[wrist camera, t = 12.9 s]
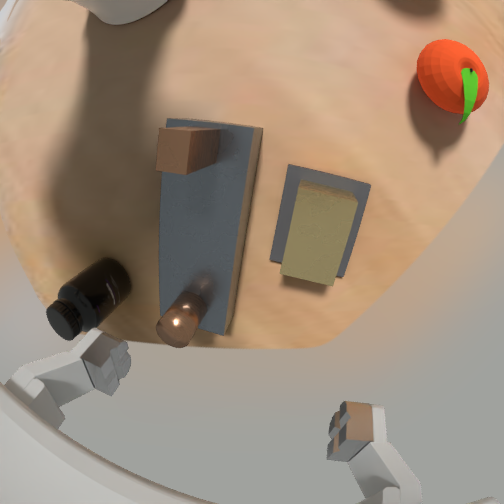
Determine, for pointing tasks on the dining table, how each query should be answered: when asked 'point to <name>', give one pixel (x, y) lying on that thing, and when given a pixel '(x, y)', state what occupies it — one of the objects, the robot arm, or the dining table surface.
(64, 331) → the supplement bottle
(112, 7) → the robot arm
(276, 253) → the mat
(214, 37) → the dining table surface
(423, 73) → the clementine
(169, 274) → the body
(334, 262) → the lever cap
